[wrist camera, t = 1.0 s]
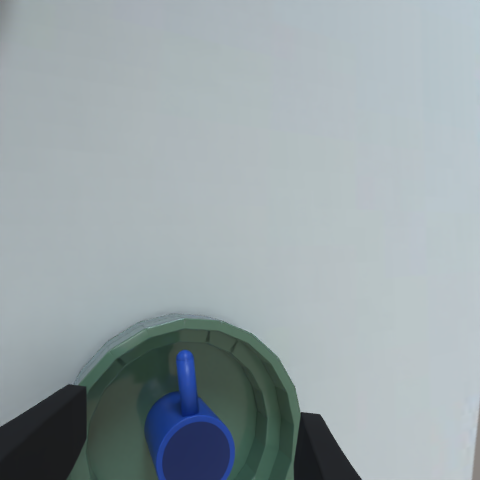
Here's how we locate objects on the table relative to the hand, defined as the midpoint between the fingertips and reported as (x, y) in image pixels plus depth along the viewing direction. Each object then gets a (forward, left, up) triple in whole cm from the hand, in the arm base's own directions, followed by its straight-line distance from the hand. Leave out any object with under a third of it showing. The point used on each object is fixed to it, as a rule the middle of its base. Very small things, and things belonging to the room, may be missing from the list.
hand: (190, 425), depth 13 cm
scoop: (-1, -2, -12) cm, 12 cm away
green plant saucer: (-3, -3, -12) cm, 13 cm away
